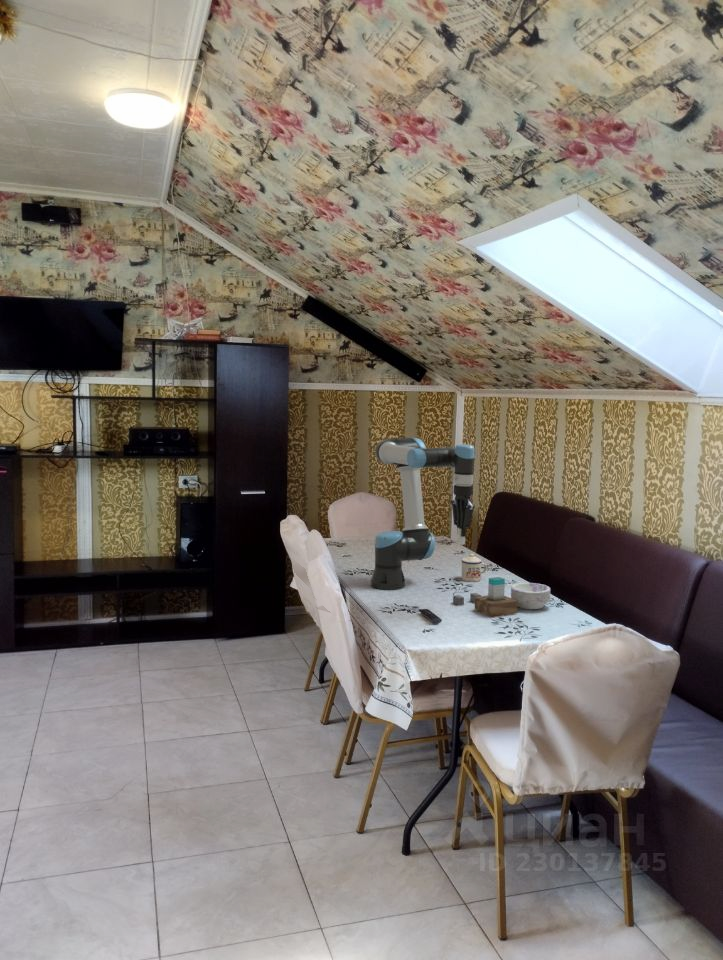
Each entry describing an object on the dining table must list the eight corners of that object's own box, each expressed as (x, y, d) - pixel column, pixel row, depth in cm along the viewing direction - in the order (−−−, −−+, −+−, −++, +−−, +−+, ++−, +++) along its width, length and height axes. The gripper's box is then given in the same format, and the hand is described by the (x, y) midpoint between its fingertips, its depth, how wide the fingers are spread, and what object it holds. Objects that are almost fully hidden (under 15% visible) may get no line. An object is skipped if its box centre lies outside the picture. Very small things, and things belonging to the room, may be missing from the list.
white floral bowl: (503, 606, 298) (503, 587, 297) (522, 599, 310) (523, 580, 309) (538, 614, 288) (538, 594, 287) (556, 606, 300) (557, 586, 299)
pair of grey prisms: (452, 603, 303) (453, 595, 302) (475, 600, 307) (475, 592, 307) (458, 605, 299) (458, 598, 299) (481, 602, 304) (481, 595, 304)
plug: (487, 608, 292) (488, 578, 290) (498, 607, 294) (499, 576, 292) (493, 611, 289) (494, 580, 287) (503, 609, 291) (504, 578, 289)
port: (474, 609, 294) (474, 597, 293) (499, 606, 299) (500, 593, 298) (491, 617, 284) (491, 604, 283) (517, 613, 289) (517, 600, 288)
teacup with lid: (465, 582, 336) (466, 556, 335) (457, 577, 345) (458, 552, 343) (490, 581, 339) (491, 555, 338) (482, 576, 348) (482, 551, 347)
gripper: (445, 482, 297) (443, 541, 301) (465, 487, 286) (462, 548, 289) (461, 482, 301) (459, 540, 304) (481, 486, 289) (478, 546, 293)
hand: (461, 544), depth 297 cm, fingers closed
